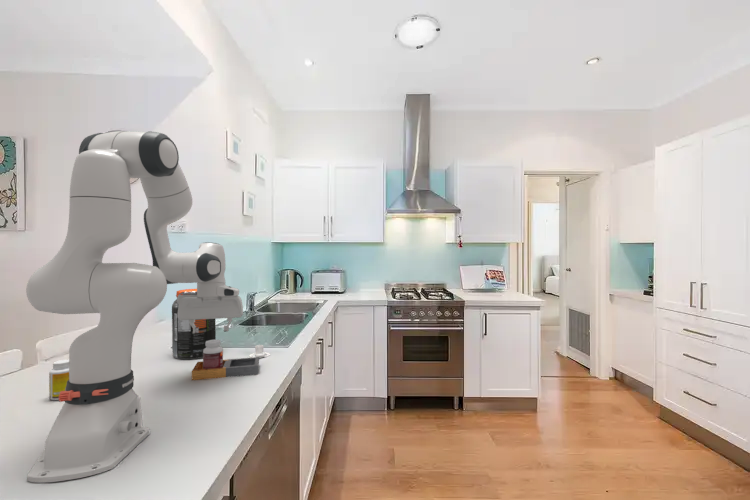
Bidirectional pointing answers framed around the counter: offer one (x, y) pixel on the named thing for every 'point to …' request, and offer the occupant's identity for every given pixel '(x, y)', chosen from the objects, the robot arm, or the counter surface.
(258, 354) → the white looped piece
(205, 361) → the pill bottle
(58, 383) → the supplement bottle
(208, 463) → the counter surface
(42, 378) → the counter surface
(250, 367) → the rail
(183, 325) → the supplement tub
